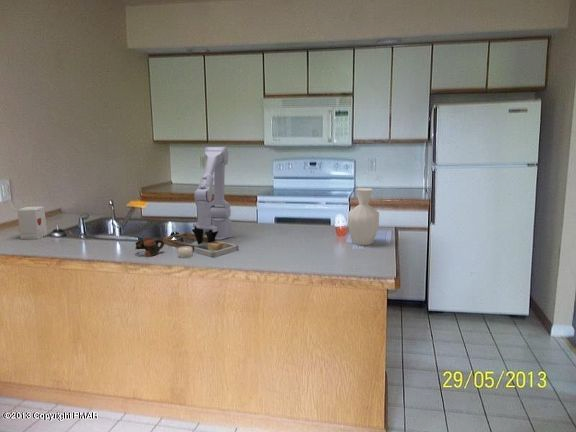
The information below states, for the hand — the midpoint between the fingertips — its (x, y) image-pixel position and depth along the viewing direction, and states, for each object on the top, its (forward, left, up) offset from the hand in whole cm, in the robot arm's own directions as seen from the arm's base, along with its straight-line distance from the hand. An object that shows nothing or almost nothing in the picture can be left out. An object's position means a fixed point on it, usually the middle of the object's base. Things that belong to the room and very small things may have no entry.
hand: (205, 245), depth 204 cm
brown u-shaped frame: (0, -12, -1) cm, 12 cm away
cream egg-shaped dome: (+13, +2, -2) cm, 13 cm away
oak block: (0, +8, -2) cm, 8 cm away
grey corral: (0, +7, -1) cm, 8 cm away
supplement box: (+40, -84, -2) cm, 94 cm away
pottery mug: (+20, -12, -2) cm, 24 cm away
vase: (-51, +50, -2) cm, 72 cm away
